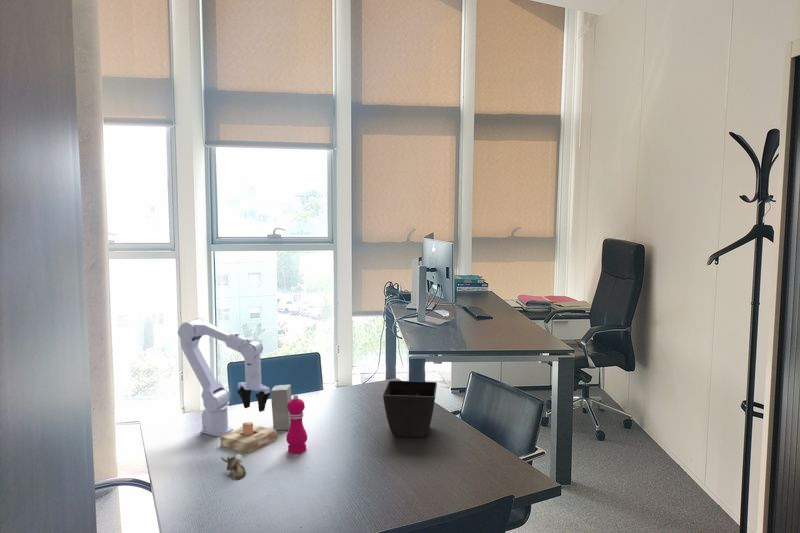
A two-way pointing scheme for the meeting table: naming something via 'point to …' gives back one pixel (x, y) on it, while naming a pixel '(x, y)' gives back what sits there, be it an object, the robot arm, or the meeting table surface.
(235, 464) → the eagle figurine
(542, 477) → the meeting table surface
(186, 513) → the meeting table surface
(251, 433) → the peg
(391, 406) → the flower pot
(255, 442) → the bore block
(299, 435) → the pepper mill
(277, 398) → the skincare box
